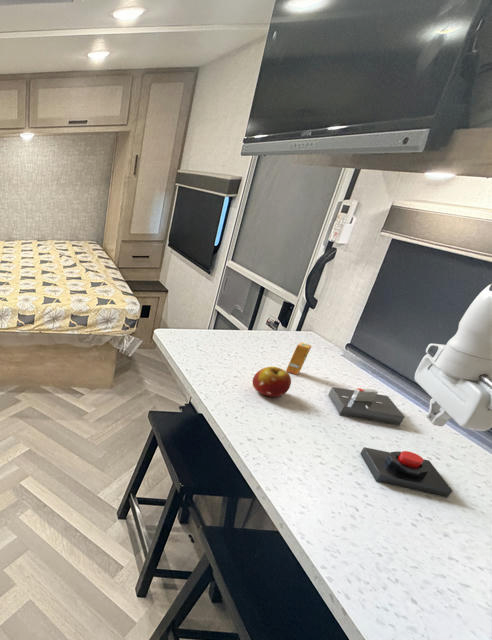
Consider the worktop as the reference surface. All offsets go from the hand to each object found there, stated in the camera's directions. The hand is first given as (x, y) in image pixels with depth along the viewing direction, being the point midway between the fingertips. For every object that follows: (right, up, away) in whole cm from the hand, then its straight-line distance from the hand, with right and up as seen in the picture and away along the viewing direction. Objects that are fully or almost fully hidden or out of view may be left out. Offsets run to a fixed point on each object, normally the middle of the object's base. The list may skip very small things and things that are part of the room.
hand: (434, 421), depth 83 cm
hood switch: (0, -13, +7) cm, 15 cm away
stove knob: (+11, +2, +28) cm, 30 cm away
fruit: (-9, +3, +37) cm, 39 cm away
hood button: (0, -10, +5) cm, 11 cm away
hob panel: (+12, -1, +29) cm, 32 cm away
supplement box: (+8, +9, +48) cm, 50 cm away
